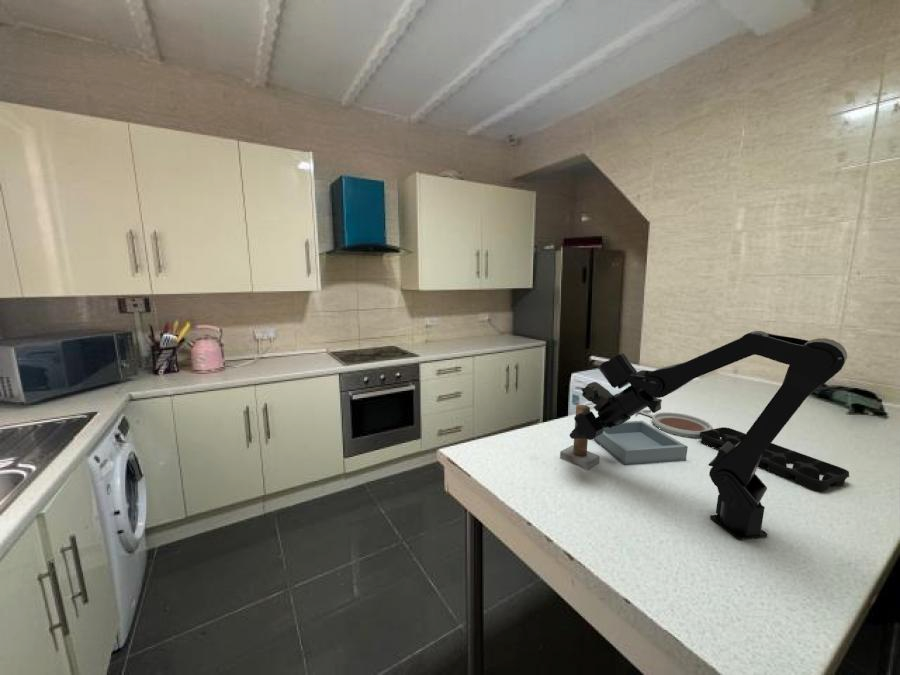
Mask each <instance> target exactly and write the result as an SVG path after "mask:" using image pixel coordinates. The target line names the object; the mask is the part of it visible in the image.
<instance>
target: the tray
mask: <svg viewBox="0 0 900 675" xmlns="http://www.w3.org/2000/svg"><path fill="white" fill-rule="evenodd" d="M593 439H594V440H595V441H596V444H598V446H600V445H601V447H602V448H603V449H604V450H605V451H606V452H608V453H609V454H610V455H611V454H612V455H611V456H613V457H614V458H615V459H617V460H618V461H619V462H620V463H621V464H622V465H624V466H631V465H644V464H658V463H659V462H660V463H670V461H673V462H683V461H684V460H686V461H687V457H688V455H687V454H688V445H685V444H684V443H682V442H680V441H679V440H677V439H675V438H673V437H672V436H670V435H668V433H667V434H666V432H665V433H664V431H662V430H661V429H659V428H657V427H655V426H652V425H651V424H649V423H647V422H645V421H643V420H633V421H631V420H630V421H629V420H627V421H625V422H624V423H622V424H619V425H617V426H613V427H611V428H609V427H605V428H603V433H602V434H601V435H599V436H597V437H595V438H593ZM593 439H592V440H593ZM594 440H593V441H594ZM595 441H594V442H595ZM684 462H685V461H684Z"/></svg>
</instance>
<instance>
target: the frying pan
mask: <svg viewBox="0 0 900 675" xmlns="http://www.w3.org/2000/svg"><path fill="white" fill-rule="evenodd" d="M651 413H652V411H651V410H650V409H643V410H641V411H639V412H637V413H636V414H635V416H636V417H637V416H638V415H639V414H642V415H645V416H647V417H650V418H651V420H652V422H653V425H654V424H655V425H654V427H656V426H657V427H658V428H657V427H656V428H657V429H659V428H660V429H659V430H661V429H662V430H661V431H663V430H664V431H663V432H665V431H666V432H665V433H667V432H669V433H668V434H671V435H674V434H675V435H674V436H678V435H680V436H679V437H683V436H684V437H683V438H690V437H692V438H691V439H701V437H700V436H699V435H700V432H702V431H707V430H712V429H714V428H713V426H712V424H710V423H709V422H708V421H706V420H704V419H701V418H700V417H697V416H693V415H689V414H685V413H680V412H670V411H669V412H667V411H665V412H664V411H662V412H656V413H653V414H651Z"/></svg>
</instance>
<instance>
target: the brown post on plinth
mask: <svg viewBox="0 0 900 675" xmlns="http://www.w3.org/2000/svg"><path fill="white" fill-rule="evenodd" d="M586 410H588V411H591V407H590V406H588V405H586V404H585V405H584V404H577V405H576V406H575V416H576V415H578V414H579V413H582V412H584V411H586ZM576 426H577V423H576V421H575V420H574V428H575V427H576ZM588 442H589V440H588V439H573V444H572V445H570V446H568V447H566V448H564V449H562V450H560V451H559V452H560V453H559V459H561V460H563V461H565V462H568V463H570V464H571V465H575V466H577V467H578V468H581V469H583V470H586V471H588V470H590V469H591V468H593V467H595V466H596V465H599V464H600V461H601V460H600V459H601V456H600V455H599V454H596V453H594V452H592V451H589V450H588Z"/></svg>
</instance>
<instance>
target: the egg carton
mask: <svg viewBox="0 0 900 675" xmlns="http://www.w3.org/2000/svg"><path fill="white" fill-rule="evenodd" d="M745 435H746V433H745V432H742V431H739V430H736V429H734V428H730V427H717V428H713V429H712V430H707V431H702V432H700V435H699V436H700V437H701V438H700V442H701V443H702V444H703V445H705V446H707V445H708V446H707V447H709V446H710V447H709V448H712V447H713V449H716V448H719V449H721V448H722V447H723V446H724V445H725V444H726V443H727V442H728V441H729V442H730V443H732V444H733V445H734V446H735V445H737V444H738V443H739V442H740V441H741V440H742V439H743V437H744V436H745ZM720 437H721V438H720ZM788 465H792V467H789V466H788ZM757 468H761V469H766V468H767V471H768V472H769V473H771V474H773V475H775V476H777V477H780V478H782V479H786V480H795V481H794V482H795V483H796V484H797V485H798V486H800V485H801V486H800V487H803V488H805V489H808V490H810V491H812V492H813V491H814V492H816V491H817V493H824V492H826V491H827V490H828V489H829V487H834V488H837V487H843V486H844V485H845V481H846V480H847V478H850V472H849V470H848V469H845V468H843V467H840V466H837V465H835V464H831V463H829V462H827V461H823V460H820V459H818V458H815V457H812V456H809V455H806V454H803V453H801V452H797V451H796V450H792V449H790V448H786V447H784V446H782V445H778V444H775V443H773V442H771V444H770V445H769V446H768V447H767V449H766V450H765V451H764V453H763V455H762V457H761V460H760V463H759V465H758V467H757ZM820 476H822V479H821V478H820Z"/></svg>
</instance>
